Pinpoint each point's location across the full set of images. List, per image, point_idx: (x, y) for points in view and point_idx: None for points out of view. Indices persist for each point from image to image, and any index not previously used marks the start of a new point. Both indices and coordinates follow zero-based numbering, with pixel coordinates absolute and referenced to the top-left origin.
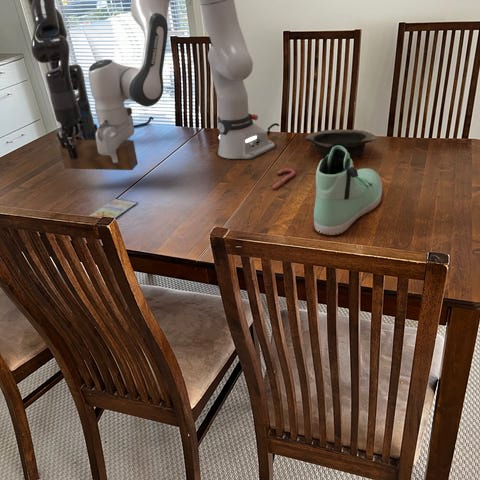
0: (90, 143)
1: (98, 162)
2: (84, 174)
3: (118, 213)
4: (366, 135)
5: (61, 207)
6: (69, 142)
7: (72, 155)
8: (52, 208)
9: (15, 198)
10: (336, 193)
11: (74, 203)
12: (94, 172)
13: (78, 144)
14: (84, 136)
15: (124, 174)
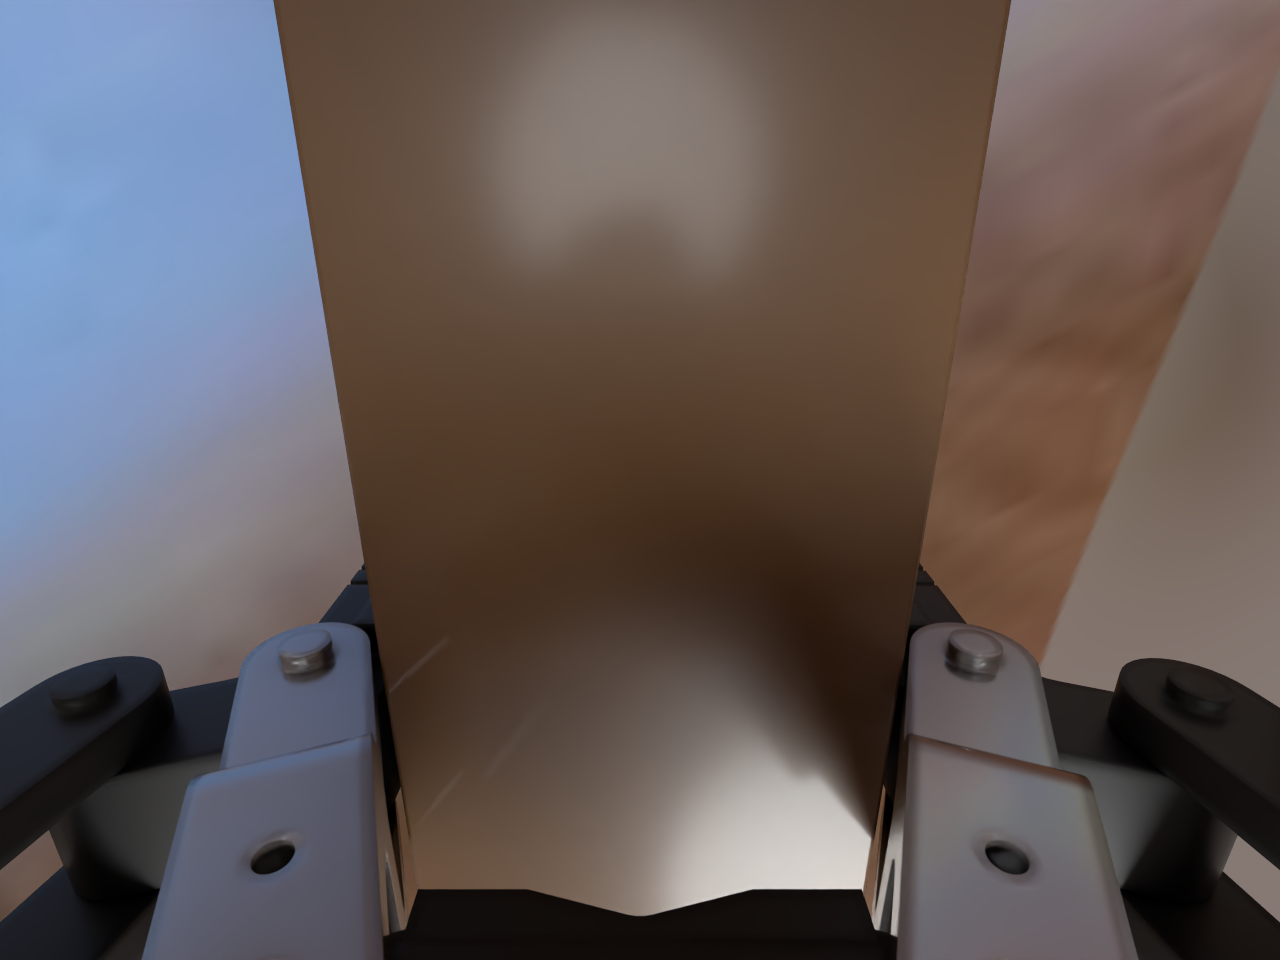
0: (754, 121)
1: None
2: (339, 562)
3: None
4: None
5: (1096, 420)
6: (648, 892)
7: (922, 581)
8: (1104, 496)
9: (869, 869)
10: None
11: (1022, 328)
12: (267, 483)
13: (834, 572)
14: (153, 696)
15: (220, 59)
